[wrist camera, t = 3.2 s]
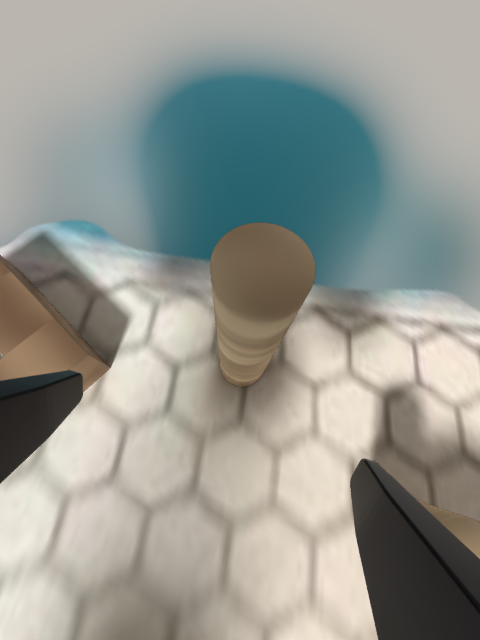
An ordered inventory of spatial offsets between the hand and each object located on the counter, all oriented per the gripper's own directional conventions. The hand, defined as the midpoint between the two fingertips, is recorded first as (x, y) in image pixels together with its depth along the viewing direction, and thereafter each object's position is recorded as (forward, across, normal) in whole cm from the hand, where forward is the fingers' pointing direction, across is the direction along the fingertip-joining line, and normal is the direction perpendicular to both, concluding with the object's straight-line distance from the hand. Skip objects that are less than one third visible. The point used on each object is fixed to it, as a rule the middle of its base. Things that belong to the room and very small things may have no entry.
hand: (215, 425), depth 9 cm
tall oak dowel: (+12, 0, -5) cm, 13 cm away
